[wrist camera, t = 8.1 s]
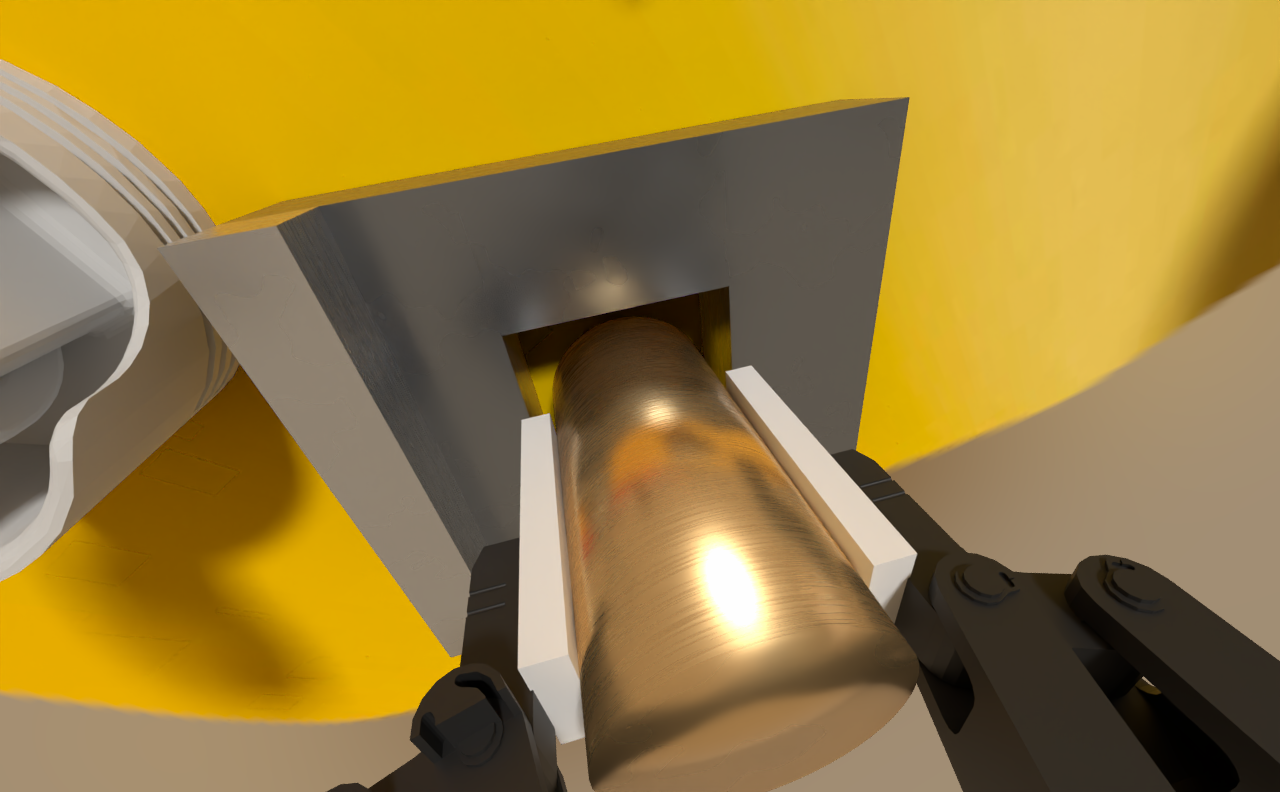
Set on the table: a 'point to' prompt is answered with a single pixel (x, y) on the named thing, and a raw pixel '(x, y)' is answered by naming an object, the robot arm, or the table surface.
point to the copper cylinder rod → (705, 583)
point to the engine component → (87, 313)
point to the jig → (544, 306)
